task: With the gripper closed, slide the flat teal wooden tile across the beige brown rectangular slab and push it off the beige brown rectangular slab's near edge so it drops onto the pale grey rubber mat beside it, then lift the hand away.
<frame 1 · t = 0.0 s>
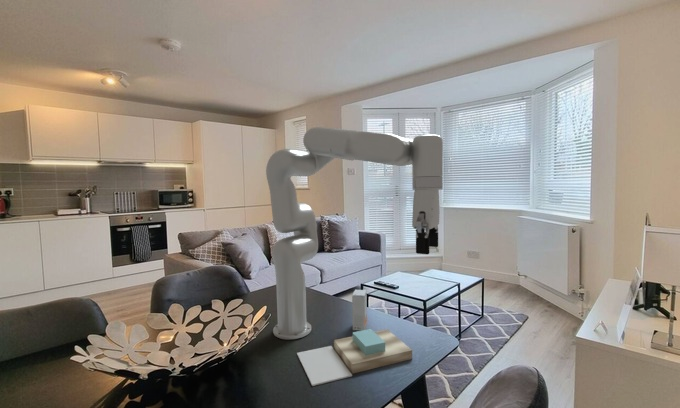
hand: (427, 249, 85), 31 cm above the table, tool pointing down, fingers open, 9 cm apart
skincare box: (360, 327, 111), on the table
beige brown rectangular slab: (371, 353, 93), on the table
tile: (368, 341, 93), point 4 cm above the table, touching beige brown rectangular slab
mat: (322, 364, 88), on the table
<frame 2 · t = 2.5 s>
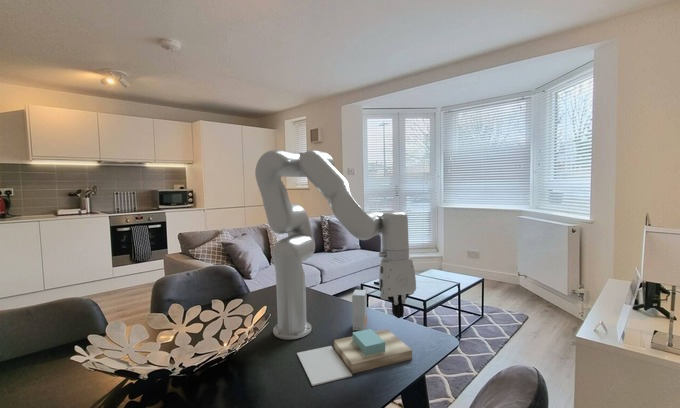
hand: (398, 316, 95), 10 cm above the table, tool pointing down, fingers closed
nothing on the table moved.
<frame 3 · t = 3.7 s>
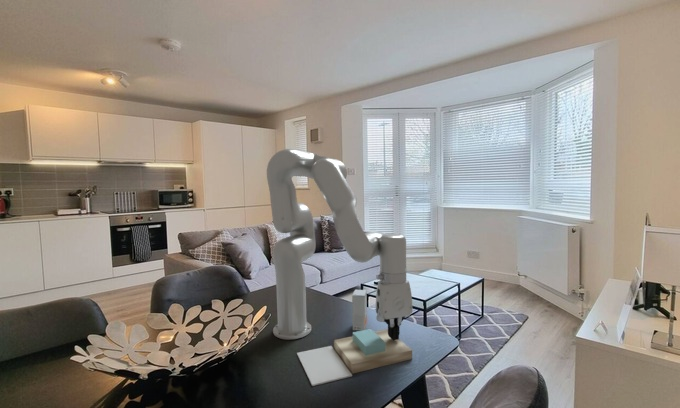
hand: (393, 337, 96), 3 cm above the table, tool pointing down, fingers closed
nothing on the table moved.
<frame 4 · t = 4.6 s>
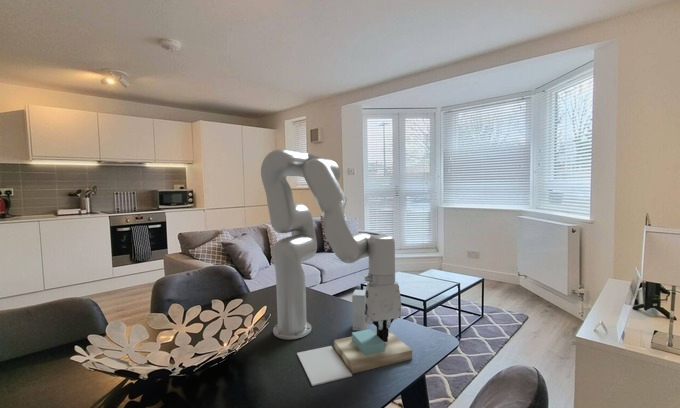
hand: (382, 340, 94), 3 cm above the table, tool pointing down, fingers closed
tile: (367, 341, 93), point 4 cm above the table, touching gripper
everything else where it was.
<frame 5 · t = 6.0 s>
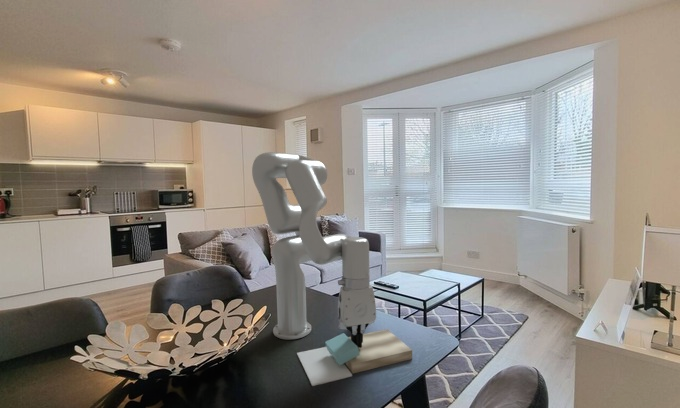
hand: (357, 345, 92), 3 cm above the table, tool pointing down, fingers closed
tile: (341, 348, 89), point 4 cm above the table, tilted 14°, touching beige brown rectangular slab
everything else where it was.
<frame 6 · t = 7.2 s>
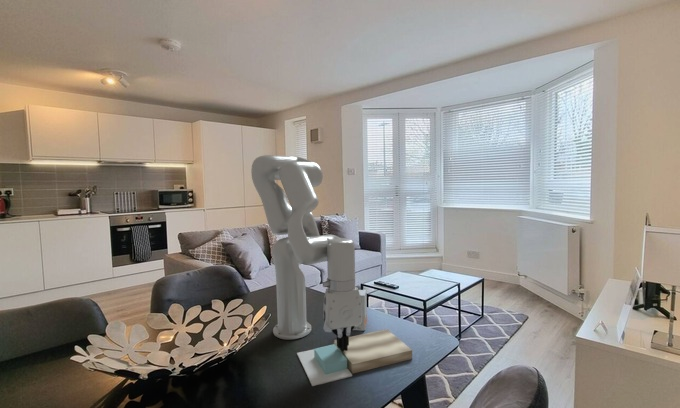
hand: (342, 348, 90), 3 cm above the table, tool pointing down, fingers closed
tile: (330, 358, 88), point 2 cm above the table, touching mat
everything else where it was.
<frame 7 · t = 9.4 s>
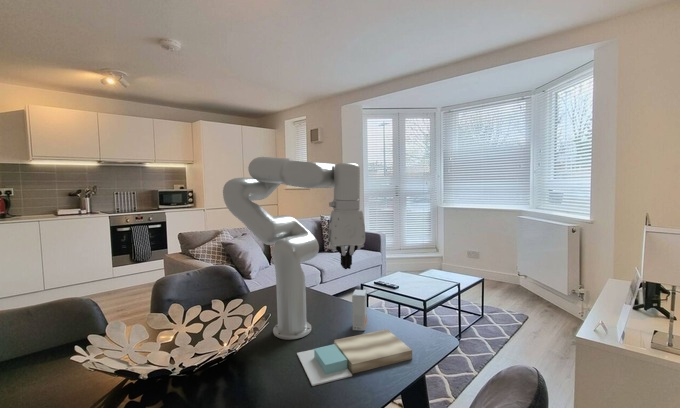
hand: (346, 267, 96), 24 cm above the table, tool pointing down, fingers closed
nothing on the table moved.
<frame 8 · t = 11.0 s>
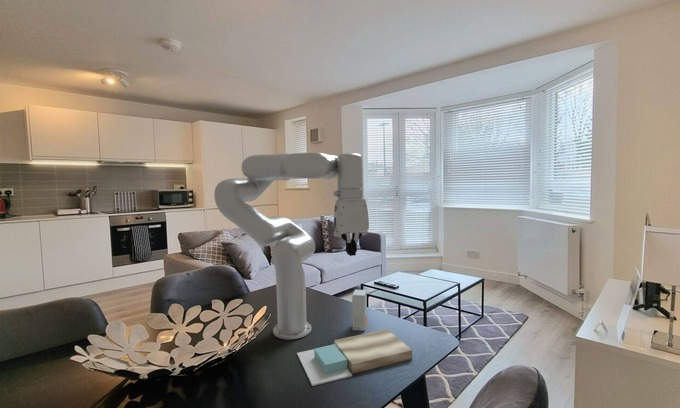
hand: (351, 254, 99), 27 cm above the table, tool pointing down, fingers closed
nothing on the table moved.
at the end: tile point 1.6 cm above the table; tile inside the target area (1.7 cm from its centre), point 1.6 cm above the table; tile touching mat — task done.
